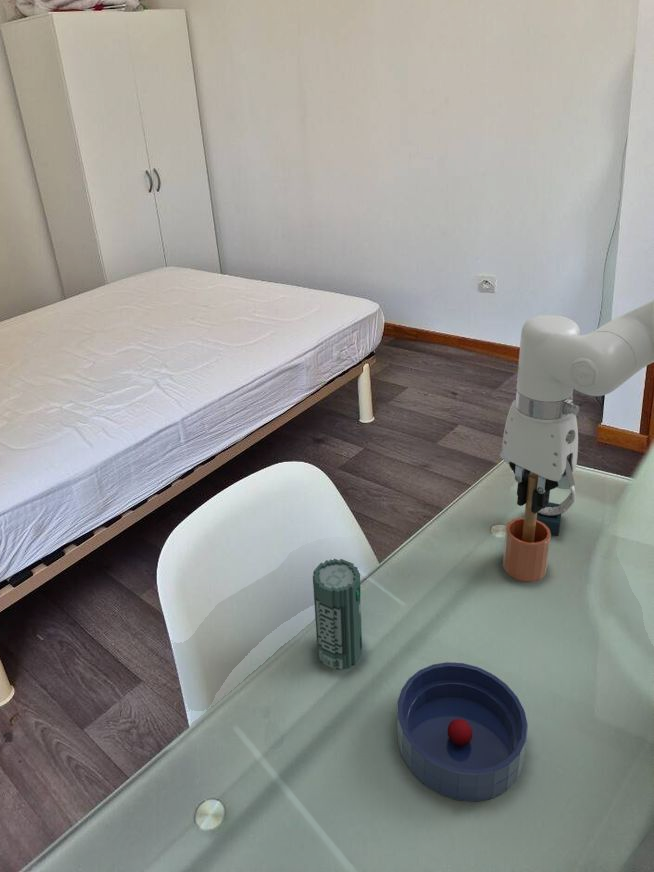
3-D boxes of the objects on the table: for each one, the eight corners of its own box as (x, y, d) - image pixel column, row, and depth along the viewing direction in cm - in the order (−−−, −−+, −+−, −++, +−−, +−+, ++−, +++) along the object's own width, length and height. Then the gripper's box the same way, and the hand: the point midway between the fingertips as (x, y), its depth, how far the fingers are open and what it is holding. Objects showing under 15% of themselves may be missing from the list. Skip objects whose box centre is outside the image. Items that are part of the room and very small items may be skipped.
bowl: (549, 750, 84) (553, 719, 82) (468, 832, 76) (471, 802, 74) (451, 671, 95) (452, 643, 93) (372, 737, 87) (371, 707, 85)
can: (368, 648, 100) (366, 568, 93) (348, 678, 96) (345, 597, 89) (332, 631, 103) (328, 553, 97) (311, 660, 99) (305, 580, 92)
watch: (523, 511, 125) (528, 461, 120) (571, 520, 122) (578, 469, 117) (519, 530, 120) (525, 479, 116) (569, 540, 117) (576, 487, 112)
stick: (533, 567, 111) (543, 475, 104) (526, 572, 111) (536, 480, 103) (523, 561, 113) (533, 470, 105) (516, 567, 112) (526, 475, 104)
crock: (553, 570, 111) (559, 531, 108) (529, 590, 108) (534, 550, 104) (518, 550, 116) (522, 512, 113) (494, 568, 113) (497, 529, 109)
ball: (476, 741, 85) (478, 725, 84) (461, 756, 84) (462, 740, 82) (457, 724, 87) (458, 708, 86) (441, 739, 86) (442, 722, 85)
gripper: (610, 411, 94) (593, 518, 102) (512, 375, 106) (503, 474, 114) (579, 431, 90) (564, 541, 98) (481, 391, 102) (474, 493, 110)
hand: (531, 504), depth 106 cm, fingers closed on stick, 1 cm apart
